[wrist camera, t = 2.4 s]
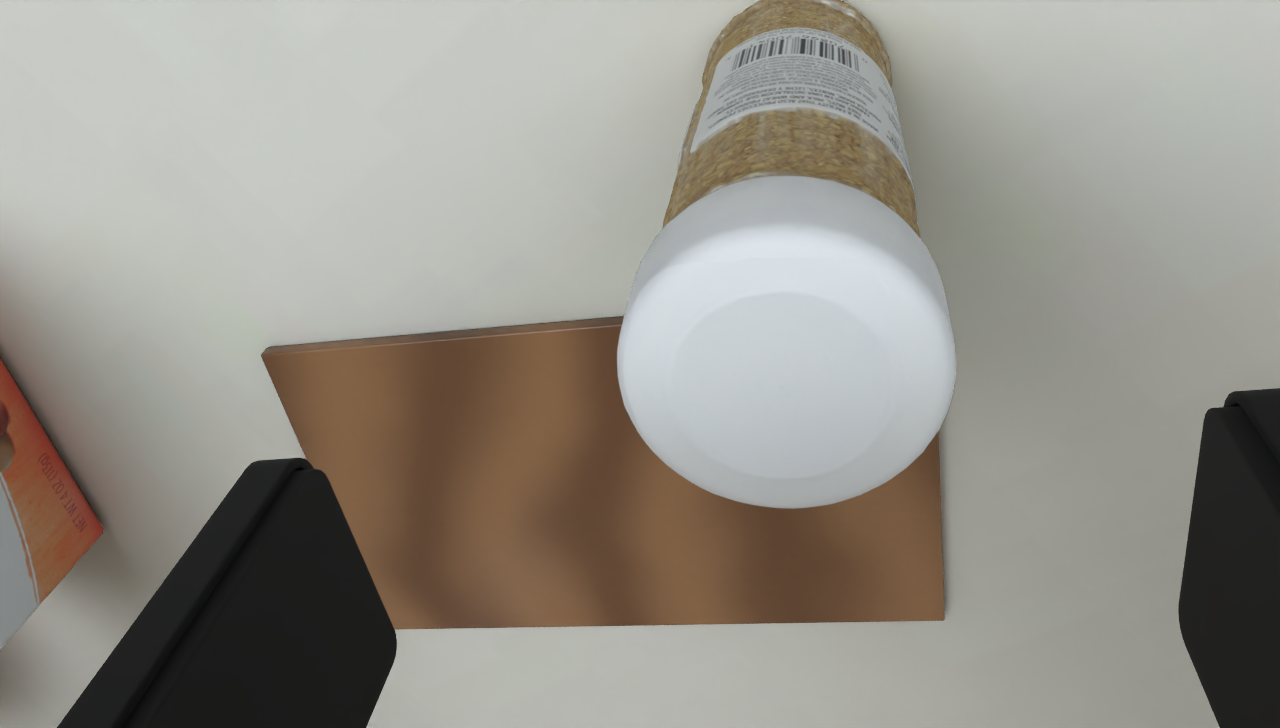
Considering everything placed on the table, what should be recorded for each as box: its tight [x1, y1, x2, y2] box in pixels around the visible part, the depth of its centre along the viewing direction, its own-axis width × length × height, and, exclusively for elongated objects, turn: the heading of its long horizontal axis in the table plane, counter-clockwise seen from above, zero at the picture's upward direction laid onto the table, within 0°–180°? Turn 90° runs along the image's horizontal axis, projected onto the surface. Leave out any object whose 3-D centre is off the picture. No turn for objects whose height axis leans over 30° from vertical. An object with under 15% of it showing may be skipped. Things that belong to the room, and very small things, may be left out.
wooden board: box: [261, 317, 945, 629], centre depth 32 cm, size 20×12×1 cm, turn 100°
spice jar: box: [617, 0, 956, 509], centre depth 19 cm, size 5×5×13 cm
